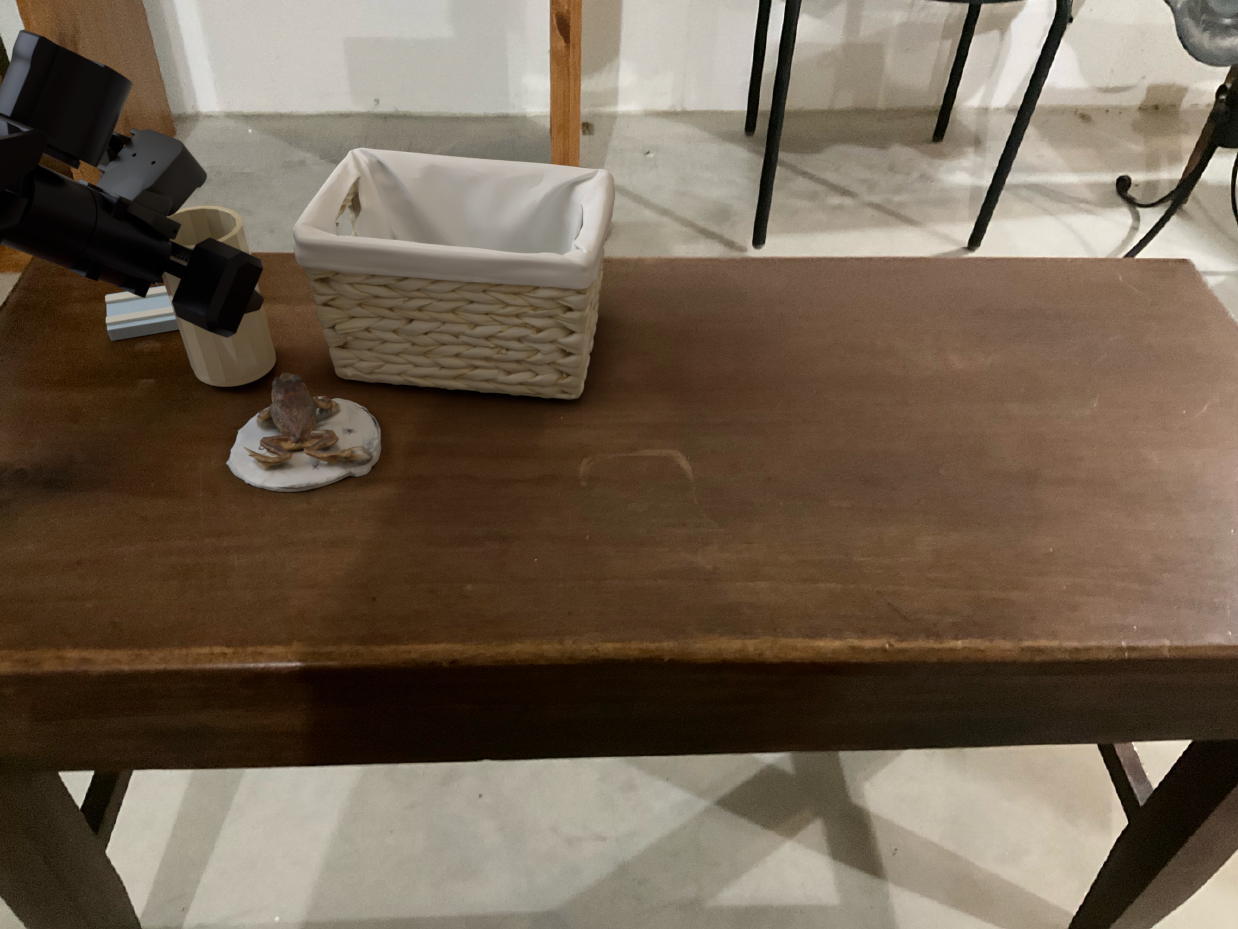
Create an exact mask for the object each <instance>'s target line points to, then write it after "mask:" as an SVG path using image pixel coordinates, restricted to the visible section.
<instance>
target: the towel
mask: <svg viewBox="0 0 1238 929" xmlns="http://www.w3.org/2000/svg"><path fill="white" fill-rule="evenodd" d="M104 302H105V304H106V316H105V325H106V331H107V333H108V336H109V339H110V341H112V342H113V341H119V340H125V339H132V338H137V337H143V336H148V335H155V334H161V333H168V332H172V331H178V330H179V327H178V324H177V321H176V318H175V315H174V312H173V309H172V306H171V303H170V300H169V296H168V293H167V290H166V287H165V285H158V286H154V287H150V288H149V290H148V293H147V295H146V297H145V298H142V297H140V296H137V295H134V294H132V293H130V292H128V291H121V292H115V293H108V294H106V295H105V296H104ZM179 331H180V330H179Z"/></svg>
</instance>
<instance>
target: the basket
mask: <svg viewBox="0 0 1238 929" xmlns="http://www.w3.org/2000/svg"><path fill="white" fill-rule="evenodd" d="M615 199H616V190H615V178H614V175H613V174H612V173H611V172H610V171H609V170H607V169H605V168H588V167H580V166H572V165H564V164H563V165H562V164H551V163H543V162H531V161H530V162H529V161H516V160H501V159H489V158H477V157H476V158H475V157H466V156H465V157H464V156H463V157H462V156H453V155H442V154H431V153H424V152H423V153H422V152H411V151H401V150H390V149H378V148H377V149H376V148H369V147H358V148H353V149H350V150H349V151H348V153H347V155H346V156H345V157H344V158H343V159H342V160H341V161H340V162H339V163H338V164H337V166H336V167H335V168H334V170H333V171H332V172H331V173H330V175H329V176H328V178H327V179H326V180H325V182H324V183H323V185H322V186H321V187H320V189H319V190H318V191H317V193H316V194H315V196H314V197H313V198H312V199H311V201H310V202H309V203H308V205H307V206H306V207H305V209H304V210H303V211H302V213H301V215H300V216H299V218H298V219H297V221H296V222H295V224H294V226H293V228H292V236H293V239H294V256H295V260H296V263H297V264H298V265H299V266H300V267H302V268H303V269H304V271H305V272H306V276H307V278H308V284H309V288H310V290H311V292H312V295H311V296H312V299H313V302H314V304H315V315H316V318H317V320H318V322H320V324H321V327H322V335H323V339H324V341H325V342H326V343H327V345H328V347H329V348H328V352H329V356H330V359H331V362H332V365H333V367H334V372H335V375H336V376H337V377H339V378H341V379H344V380H351V381H358V382H365V383H371V384H373V383H380V384H381V383H383V384H384V383H385V384H391V385H395V386H400V385H405V386H406V385H407V386H416V387H419V388H425V387H427V388H440V389H446V390H449V391H451V390H452V391H454V390H461V391H472V392H473V391H474V392H480V393H481V394H482V393H485V394H488V393H491V394H492V393H493V394H494V393H496V394H508V395H510V396H517V397H518V396H528V397H539V398H543V399H560V400H561V399H562V400H569V401H571V400H576V399H577V400H578V399H579V398H580V397H581V395H582V394H583V392H584V389H585V381H586V379H587V375H588V367H589V365H590V361H591V355H590V354H591V353H592V351H593V348H594V343H595V342H594V337H595V334H596V331H597V323H598V319H599V307H600V301H599V300H600V295H601V294H600V292H601V290H602V281H603V277H604V270H603V268H604V261H605V254H606V253H605V245H606V242H607V240H608V235H609V231H610V226H611V223H612V220H613V215H614V207H615ZM346 209H348V210H349V221H350V224H351V228H352V232H351V234H350V235H338V232H337V231H338V230H337V228H338V227H339V225H340V223H339V222H338V219H339V218H340V216H342V215H343V214H344V213H345V211H346Z"/></svg>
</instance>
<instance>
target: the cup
mask: <svg viewBox="0 0 1238 929" xmlns="http://www.w3.org/2000/svg"><path fill="white" fill-rule="evenodd" d="M168 218H170V219H172V220H174V221H176V222H178V223H180V224H181V227H180V229H179V231H178V234H177V236H176V238H175V239H174V240H172V239H170V240H171V241H173V242H175V243H178V244H180V245H182V246H185V247H187V248H189V249H191V250H193V249H194V247H195V245H196V244H197V243H199V242H201V241H203V240H205V239H207V238H209V237H211V238H213V239H215V240H218V241H220V242H222V243H225V244H227V245H230V246H232V247H234V248H237V249H239V250H241V251H244V252H246V253H248V254H250V255H252V252H251V247H250V244H249V240H248V236H247V232H246V228H245V223H244V219H243V217H242V216H241V215H240V214H239V213H238V212H237V211H235V210H233V209H230V208H227V207H224V206H217V205H197V206H188V207H183V208H180V209H179V210H178V211H177V212H176V213H175V214H173V215H171V216H168ZM170 259H172V260H174V261H176V262H179V263H181V264H183V265H185V266H187V262H185V261H182V260H180V259H178V258H175V257H173V256H171V257H170ZM162 278H163V281H164V283H163V284H164V286H165V287H166V290H167V293H168V296H169V300H170V303H171V306H172V309H173V312H174V315H175V318H176V321H177V324H178V327H179V334H180V336H181V339H182V342H183V345H184V348H185V352H186V354H187V358H188V361H189V364H190V367H191V369H192V371H193V373H194V376H195V377H196V378H197V379H198V380H199V381H200V382H202V383H204V384H207V385H209V386H213V387H223V388H224V387H225V388H227V387H237V386H243V385H247V384H250V383H253V382H256V381H257V380H259V379H261V378H263V377H264V376H266V375H267V374H268V373H270V372H271V370H272V369H273V368H274V367H275V365H276V362H277V354H276V350H275V344H274V340H273V336H272V332H271V328H270V324H269V319H268V315H267V312H266V308H265V303H264V302H263V304H262V306H261V309H260V310H258V311H254V312H250V313H247V314H244V316H243V318H242V320H241V323H240V325H239V328H238V330H237V332H236V334H234V335H232V336H230V337H228V338H226V337H223V336H220V335H217V334H214V333H212V332H209V331H207V330H204V329H202V328H200V327H198V326H196V325H194V324H192V323H190V322H188V321H185V320H183V319H181V318H179V317H177V316H176V313H175V310H174V307H173V304H172V299H173V297H174V294H175V292H176V289H177V287H178V285H179V282H180V280H181V279H180V278H177V277H175V276H173V275H171V274H168V273H166V272H164V273H163V275H162ZM255 290H256V291H257V292H258V293H259V294H261V295H262V292H261V288H260V284H259V282H258V283H257V285H256V287H255Z"/></svg>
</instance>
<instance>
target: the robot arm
mask: <svg viewBox="0 0 1238 929" xmlns="http://www.w3.org/2000/svg"><path fill="white" fill-rule="evenodd" d="M133 86H134V83H133V82H132V81H131V80H130V79H129V78H128V77H126V76H125V75H123V74H121V73H120V72H118V71H117V70H115V69H114V68H112V67H110V66H108V65H106V64H104V63H101V62H98V61H95V60H92V59H90V58H87V57H85V56H83V55H81V54H79V53H77V52H75V51H73V50H70V49H68V48H66V47H64V46H62V45H60V44H58V43H56V42H54V41H53V40H51V39H49V38H48V37H46V36H44V35H41V34H40V33H36V32H33V31H30V30H27V29H24V28H23V29H21V30H19V32H18V34H17V37H16V38H15V40H14V44H13V47H12V51H11V58H10V62H9V64H8V67H7V70H6V72H5V75H4V77H3V80H2V82H1V84H0V246H1V245H2V246H5V247H7V248H10V249H13V250H16V251H19V252H21V253H23V254H27V255H28V256H29V255H30V256H31V257H32V256H33V257H36V258H37V259H40V260H44V261H46V262H49V263H52V264H55V265H57V266H60V267H63V268H65V269H67V270H69V271H71V272H73V273H76V274H78V275H79V276H82V277H84V278H85V279H86V278H87V279H89V280H92V281H94V282H98V281H102V282H104V283H107V284H111V285H113V286H116V287H117V288H119V289H122V290H123V291H124V292H127V291H128V292H130V293H132V294H134V295H137V296H140V297H142V298H145V297H146V295H147V293H148V290H149V288H151V285H152V286H154V287H158V286H160V284H164V281H163V278H162V275H163V273H164V272H166V273H168V274H171V275H173V276H175V277H177V278H180V279H181V280H180V282H179V285H178V287H177V289H176V292H175V294H174V297H173V299H172V304H173V307H174V310H175V313H176V316H177V317H179V318H181V319H183V320H185V321H188V322H190V323H192V324H194V325H196V326H198V327H200V328H202V329H204V330H207V331H209V332H212V333H214V334H217V335H220V336H223V337H226V338H228V337H230V336H232V335H234V334H236V332H237V330H238V328H239V325H240V323H241V320H242V318H243V316H244V314H247V313H250V312H254V311H258V310H260V309H261V306H262V304H263V303H264V301H265V297H264V296H263V295H262V293H261V294H259V293H258V292H257V291H256V290H255V287H256V285H257V283H259V280H260V278H261V276H262V273H263V271H264V267H263V262H262V259H261V258H258V257H256V256H254V255H252V254H251V255H250V254H248V253H246V252H244V251H241V250H239V249H237V248H234V247H232V246H230V245H227V244H225V243H222V242H220V241H218V240H215V239H213V238H211V237H209V238H207V239H205V240H203V241H201V242H199V243H197V244H196V245H195V247H194V249H193V250H191V249H189V248H187V247H185V246H182V245H180V244H178V243H175V242H173V241H171V240H170V239H172V240H174V239H175V238H176V236H177V234H178V231H179V229H180V227H181V224H180V223H178V222H176V221H174V220H172V219H170V218H168V216H171V215H173V214H175V213H176V212H177V211H178V210H180V209H182V207H183V205H184V204H185V203H186V202H187V201H188V199H189V198H190V197H191V196H192V195H193V193H195V191H196V190H197V189H200V188H202V187H203V185H204V184H205V183H206V182H207V180H208V173H207V171H206V170H205V169H204V168H203V166H201V164H200V163H199V162H198V160H197V159H196V157H194V155H193V154H192V153H191V152H190V150H189V149H188V148H187V146H186V144H184V143H183V141H182V140H180V139H177V138H175V137H172V136H169V135H167V134H165V133H161V132H160V131H157V130H153V129H150V128H145V129H142V130H139V129H136V128H134V127H131V129H130V130H129V133H130V136H128V135H125V134H122V133H119V132H117V131H115V129H116V126H117V124H118V122H119V120H120V118H121V115H122V112H123V110H124V108H125V105H126V103H127V101H128V97H129V96H130V93H131V91H132V88H133ZM131 135H132V136H131ZM43 156H46V157H47V158H50V159H51V160H53V161H54V160H55V161H56V162H58V163H60V164H63V165H65V166H68V167H70V168H72V169H75V170H77V171H78V170H80V166H81V164H82V162H83V163H85V164H87V165H89V166H92V167H94V168H97V169H98V170H99V172H100V178H99V180H98V182H96V184H93V183H91V182H89V181H87V180H84V179H82V178H78V179H77V180H75V179H73V178H71V177H69V176H67V175H64V174H62V173H60V172H57V170H56V171H55V170H53V169H51V168H49V167H46V166H45V165H43V164H40V162H41V160H42V158H43ZM171 256H173V257H175V258H178V259H180V260H182V261H185V262H187V266H185V265H183V264H181V263H179V262H176V261H174V260H172V259H170V257H171Z"/></svg>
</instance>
